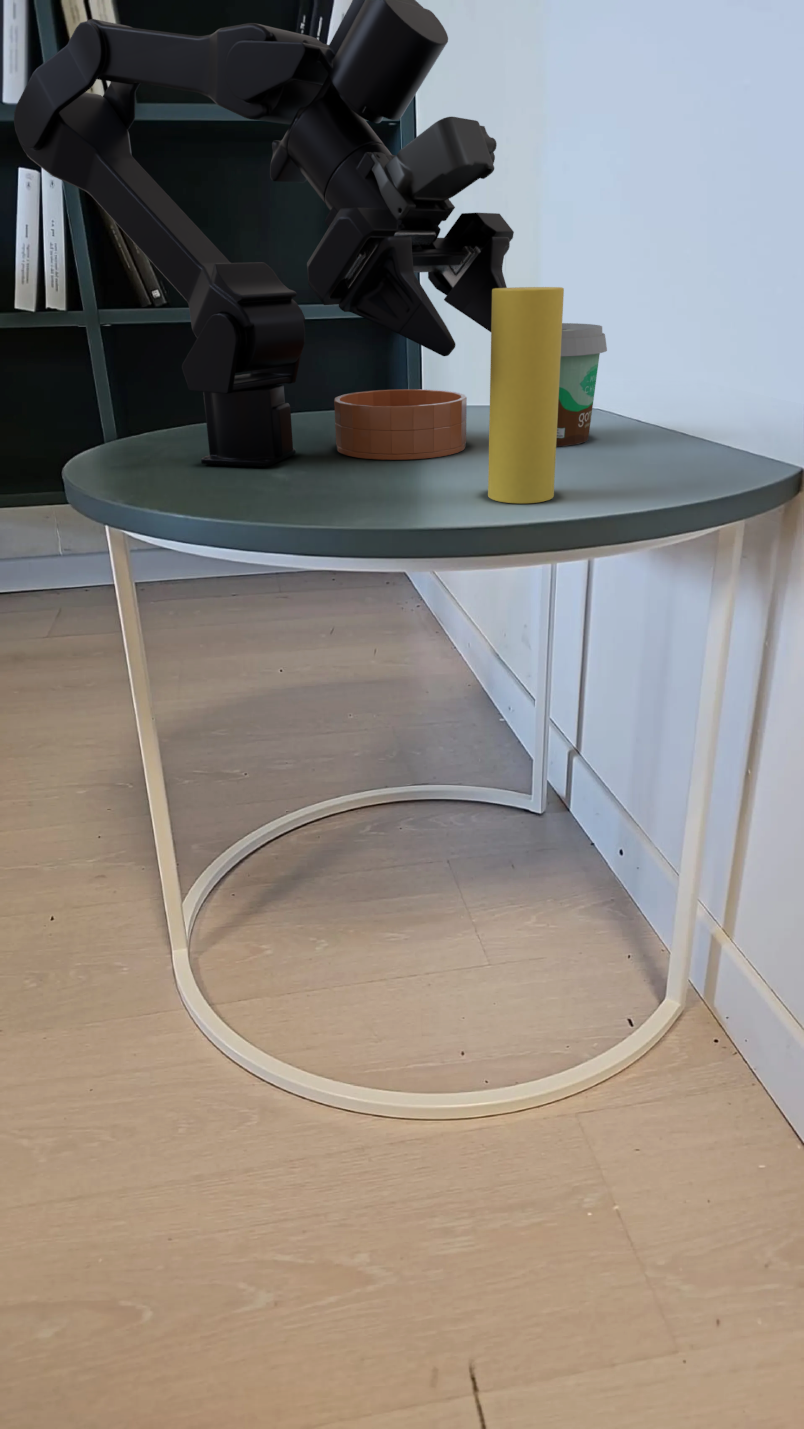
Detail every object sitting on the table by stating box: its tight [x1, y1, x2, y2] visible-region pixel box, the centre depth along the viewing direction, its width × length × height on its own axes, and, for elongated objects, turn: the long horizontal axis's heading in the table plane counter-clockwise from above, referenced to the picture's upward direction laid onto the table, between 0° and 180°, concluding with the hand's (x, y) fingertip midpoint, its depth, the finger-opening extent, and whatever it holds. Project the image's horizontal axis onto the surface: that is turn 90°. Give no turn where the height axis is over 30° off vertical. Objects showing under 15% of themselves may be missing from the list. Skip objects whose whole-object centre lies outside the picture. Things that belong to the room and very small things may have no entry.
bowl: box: [333, 388, 468, 461], centre depth 89 cm, size 12×12×4 cm
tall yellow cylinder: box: [487, 286, 565, 505], centre depth 68 cm, size 5×5×14 cm
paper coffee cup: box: [556, 322, 608, 447], centre depth 90 cm, size 12×6×10 cm, turn 168°
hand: (486, 345), depth 68 cm, fingers open, 9 cm apart
